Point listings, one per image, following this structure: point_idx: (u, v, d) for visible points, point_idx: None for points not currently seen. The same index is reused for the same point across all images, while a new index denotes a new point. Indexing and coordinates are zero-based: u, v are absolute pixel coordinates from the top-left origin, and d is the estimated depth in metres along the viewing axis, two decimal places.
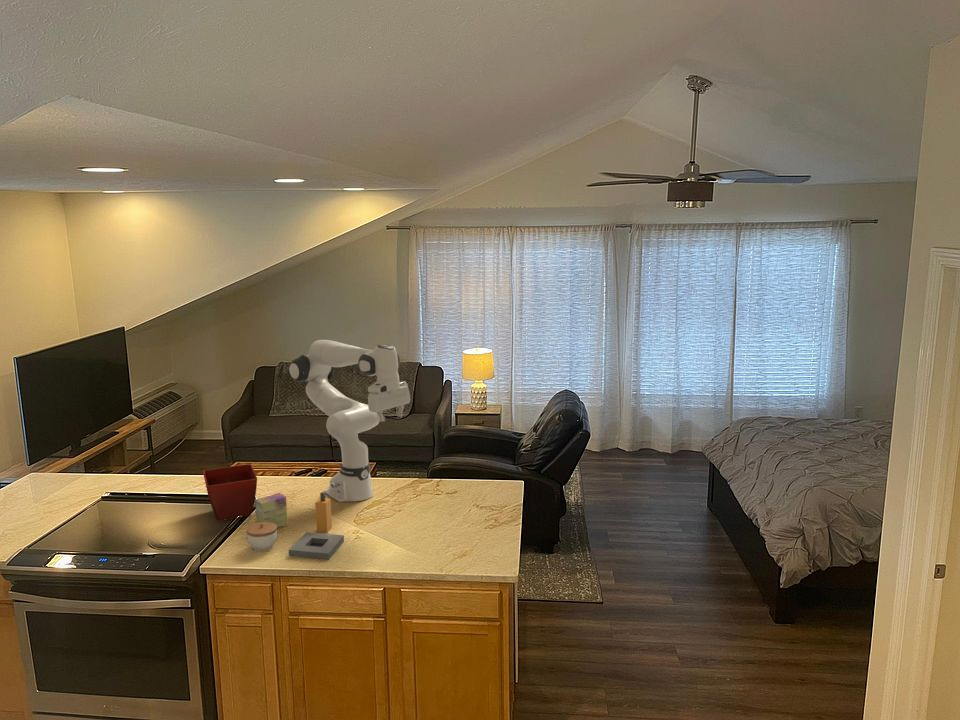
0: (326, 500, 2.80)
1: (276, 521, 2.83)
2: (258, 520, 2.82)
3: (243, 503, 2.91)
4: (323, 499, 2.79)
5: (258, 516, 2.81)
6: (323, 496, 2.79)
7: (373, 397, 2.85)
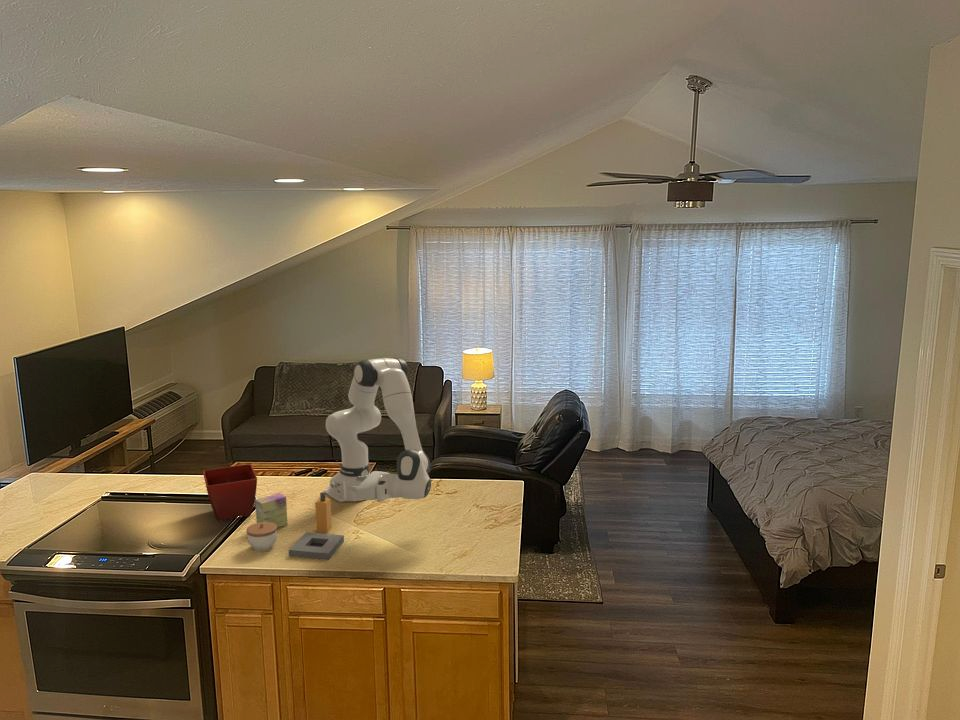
0: (326, 500, 2.80)
1: (276, 521, 2.83)
2: (258, 520, 2.82)
3: (243, 503, 2.91)
4: (323, 499, 2.79)
5: (258, 516, 2.81)
6: (323, 496, 2.79)
7: (371, 497, 2.66)
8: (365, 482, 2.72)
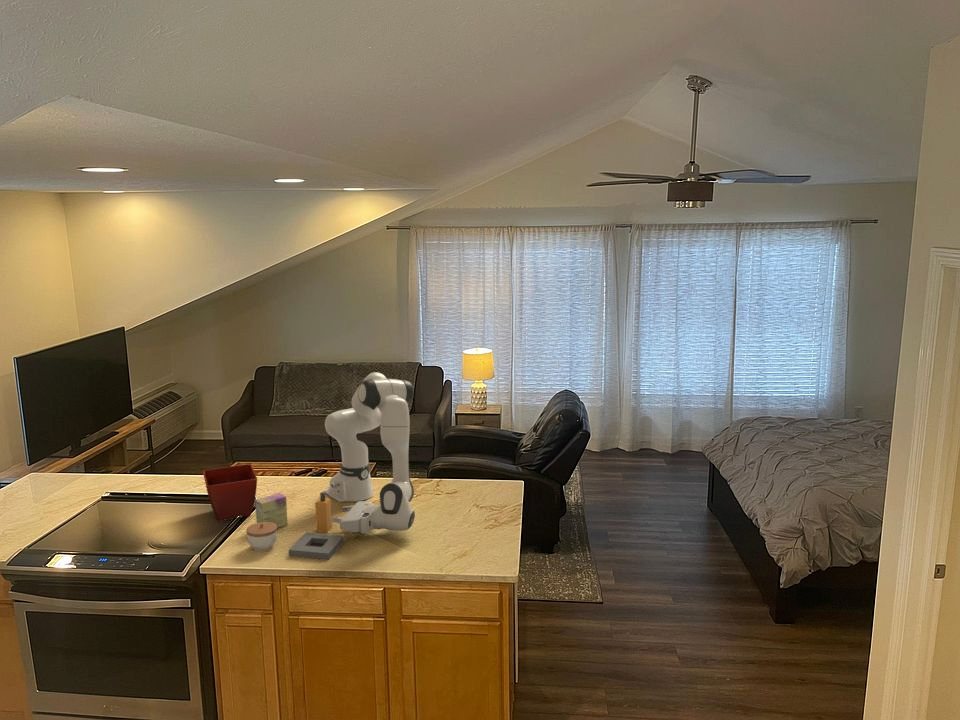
0: (326, 500, 2.80)
1: (276, 521, 2.83)
2: (258, 520, 2.82)
3: (243, 503, 2.91)
4: (323, 499, 2.79)
5: (258, 516, 2.81)
6: (323, 496, 2.79)
7: (355, 529, 2.70)
8: (350, 513, 2.76)
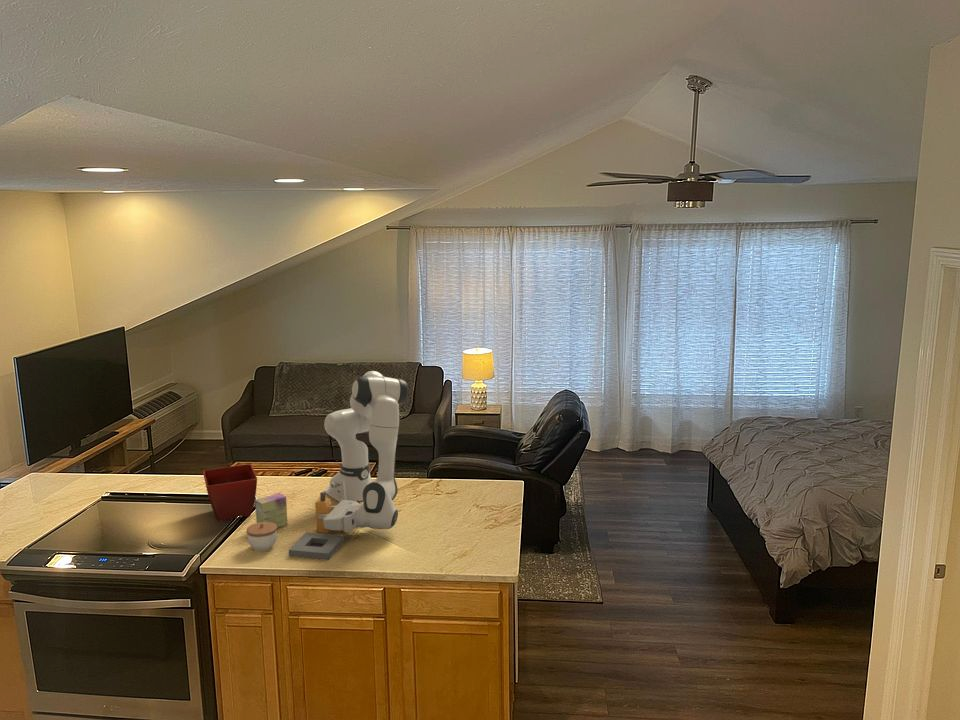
0: (326, 500, 2.80)
1: (276, 521, 2.83)
2: (258, 520, 2.82)
3: (243, 503, 2.91)
4: (323, 499, 2.79)
5: (258, 516, 2.81)
6: (323, 496, 2.79)
7: (338, 527, 2.71)
8: (333, 512, 2.77)
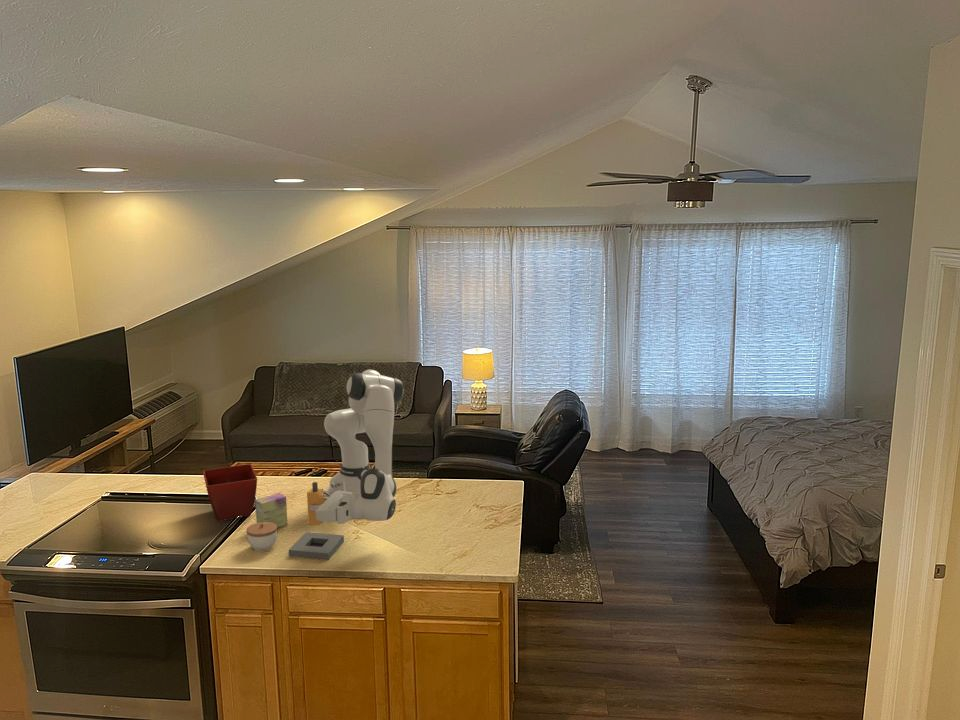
0: (319, 490, 2.62)
1: (276, 521, 2.83)
2: (258, 520, 2.82)
3: (243, 503, 2.91)
4: (316, 489, 2.62)
5: (258, 516, 2.81)
6: (315, 486, 2.61)
7: (331, 519, 2.53)
8: (326, 503, 2.59)
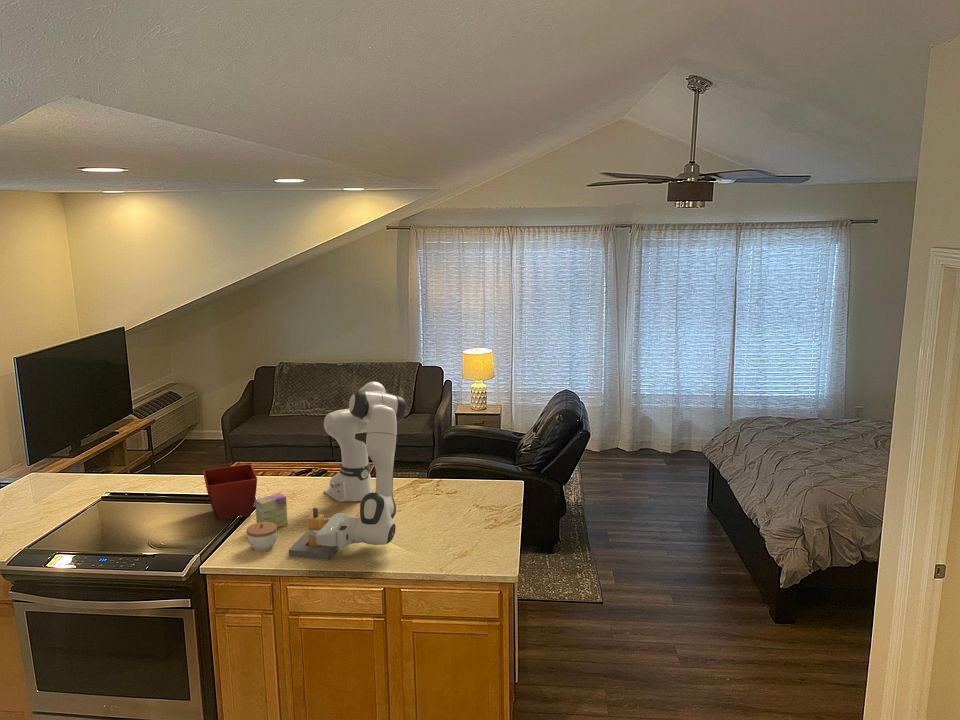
0: (319, 516, 2.64)
1: (276, 521, 2.83)
2: (258, 520, 2.82)
3: (243, 503, 2.91)
4: (316, 515, 2.63)
5: (258, 516, 2.81)
6: (316, 512, 2.63)
7: (331, 543, 2.54)
8: (326, 526, 2.61)
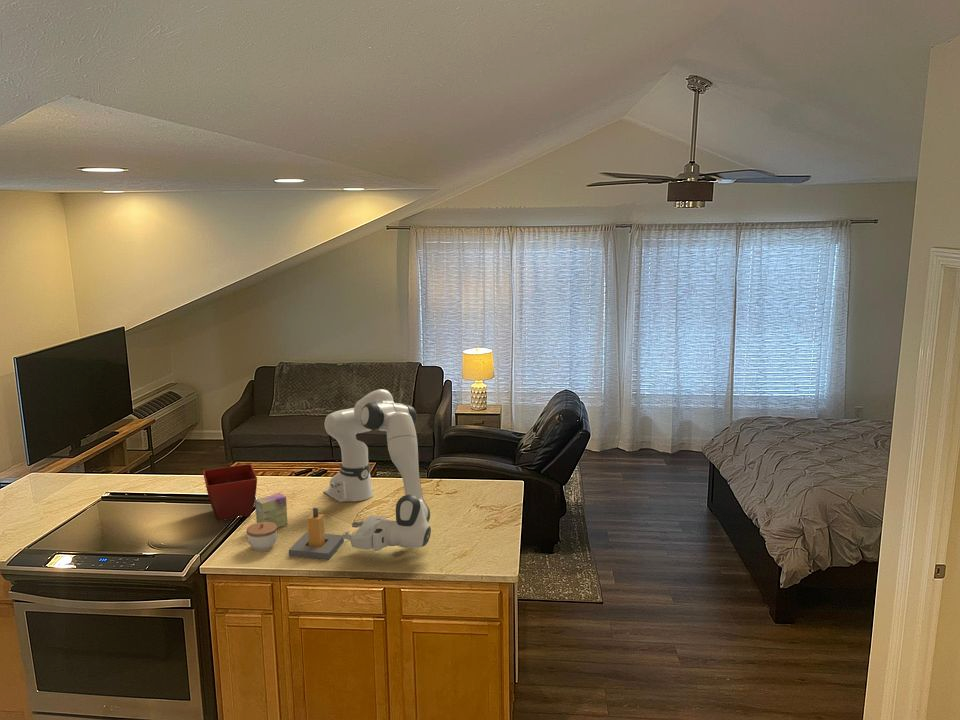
0: (319, 516, 2.64)
1: (276, 521, 2.83)
2: (258, 520, 2.82)
3: (243, 503, 2.91)
4: (316, 515, 2.63)
5: (258, 516, 2.81)
6: (316, 512, 2.63)
7: (367, 546, 2.52)
8: (361, 529, 2.58)
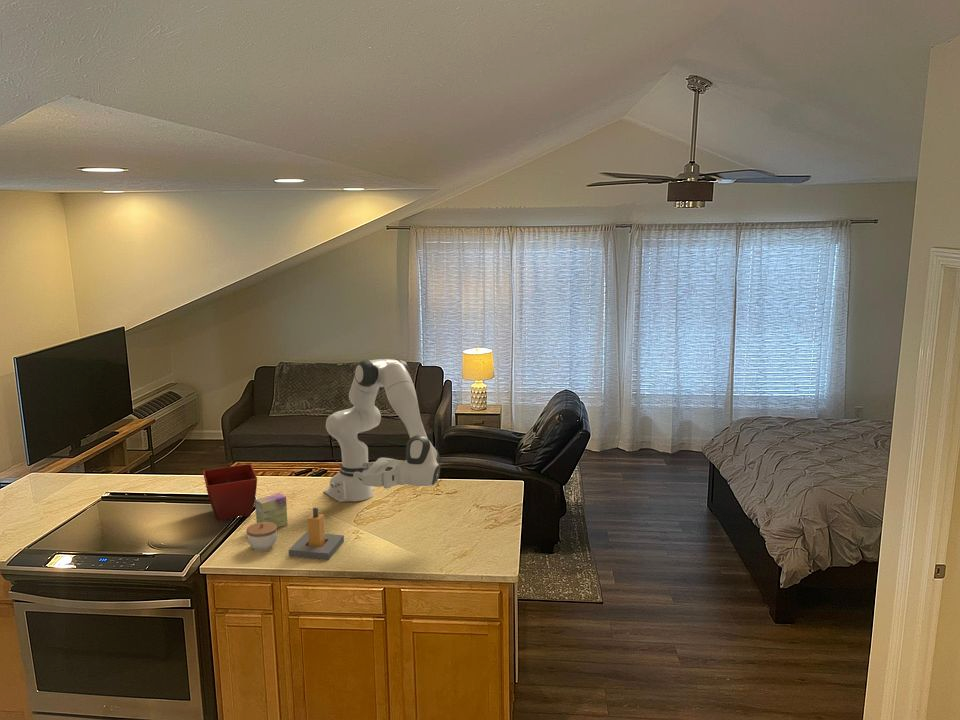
0: (319, 516, 2.64)
1: (276, 521, 2.83)
2: (258, 520, 2.82)
3: (243, 503, 2.91)
4: (316, 515, 2.63)
5: (258, 516, 2.81)
6: (316, 512, 2.63)
7: (377, 484, 2.57)
8: (372, 468, 2.63)
